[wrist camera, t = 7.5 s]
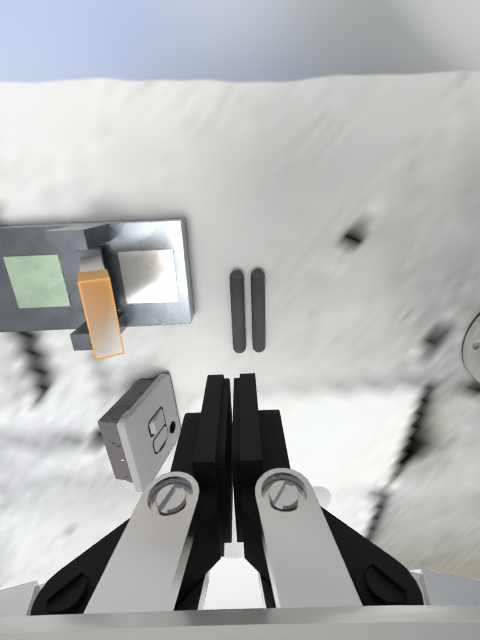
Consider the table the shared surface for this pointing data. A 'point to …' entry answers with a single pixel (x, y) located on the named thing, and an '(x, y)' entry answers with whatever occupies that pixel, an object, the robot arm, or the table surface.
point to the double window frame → (120, 261)
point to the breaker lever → (99, 304)
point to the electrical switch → (141, 430)
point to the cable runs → (257, 310)
